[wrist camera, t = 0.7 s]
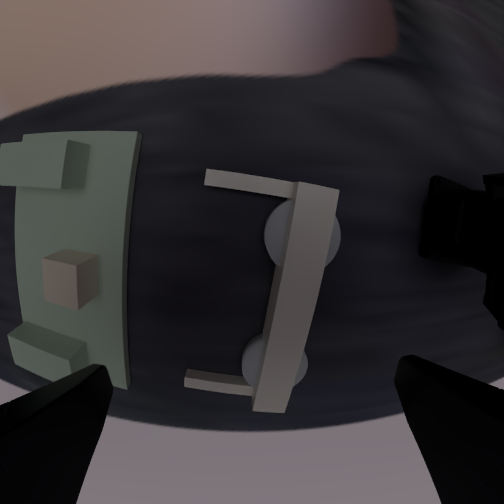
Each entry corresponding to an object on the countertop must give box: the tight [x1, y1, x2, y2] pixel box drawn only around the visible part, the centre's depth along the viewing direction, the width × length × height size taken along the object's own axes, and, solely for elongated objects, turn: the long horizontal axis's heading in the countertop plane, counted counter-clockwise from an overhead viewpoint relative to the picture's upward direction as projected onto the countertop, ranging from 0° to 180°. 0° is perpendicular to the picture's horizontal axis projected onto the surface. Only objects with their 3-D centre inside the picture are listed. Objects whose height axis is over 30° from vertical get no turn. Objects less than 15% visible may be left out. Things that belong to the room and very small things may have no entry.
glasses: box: [184, 169, 341, 413], centre depth 18 cm, size 9×16×3 cm, turn 171°
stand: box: [0, 131, 143, 390], centre depth 17 cm, size 11×20×4 cm, turn 171°
